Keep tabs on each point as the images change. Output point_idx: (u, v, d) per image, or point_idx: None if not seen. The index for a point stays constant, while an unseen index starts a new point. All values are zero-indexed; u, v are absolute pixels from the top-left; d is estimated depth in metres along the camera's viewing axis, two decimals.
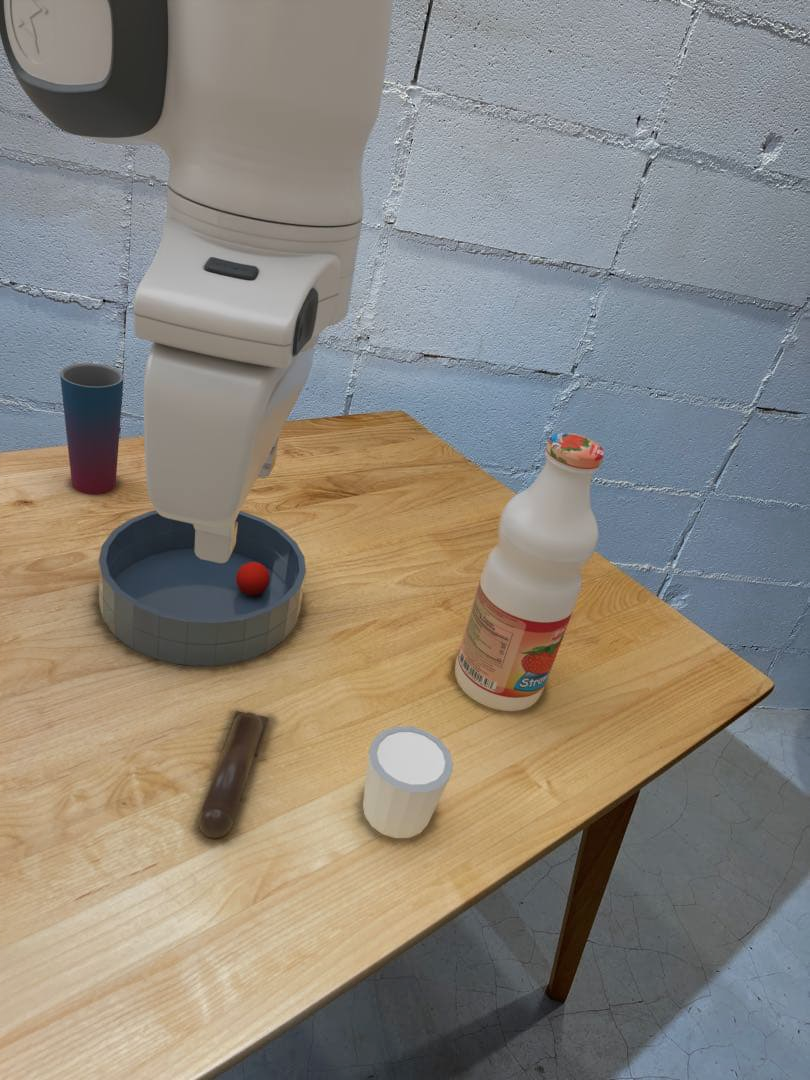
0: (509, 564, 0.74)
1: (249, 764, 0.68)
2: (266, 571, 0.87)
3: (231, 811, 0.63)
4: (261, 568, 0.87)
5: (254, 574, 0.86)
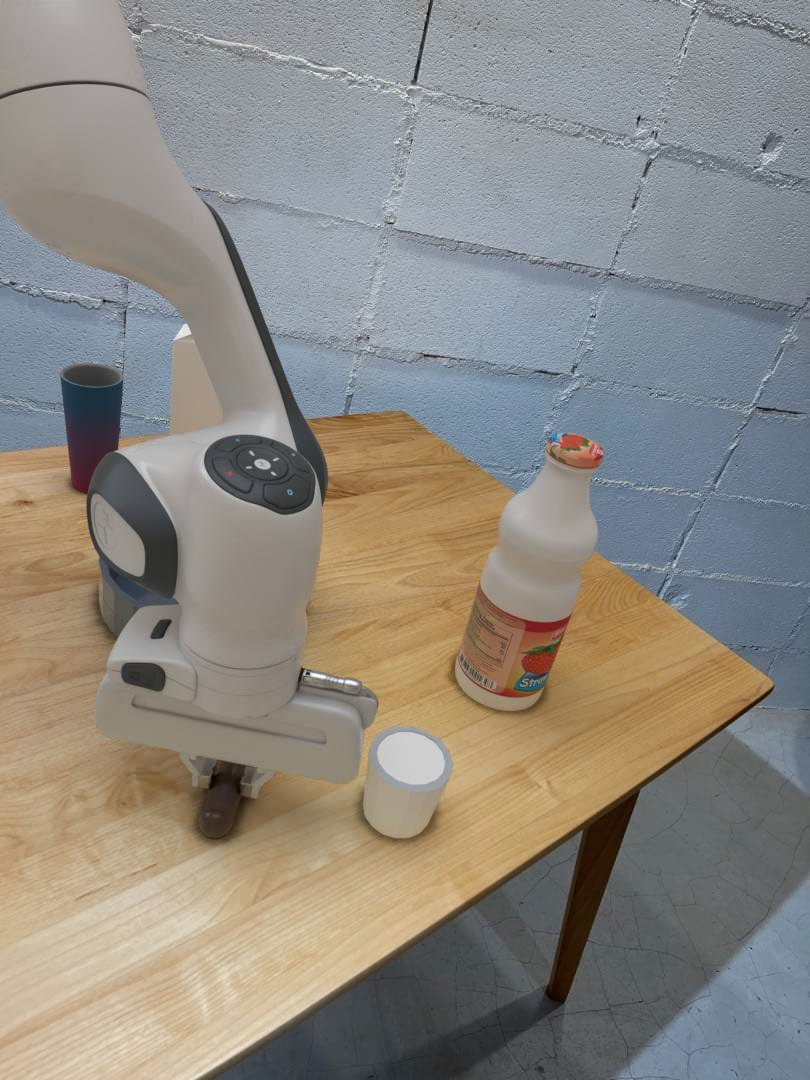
0: (509, 564, 0.74)
1: None
2: None
3: (231, 811, 0.63)
4: None
5: None
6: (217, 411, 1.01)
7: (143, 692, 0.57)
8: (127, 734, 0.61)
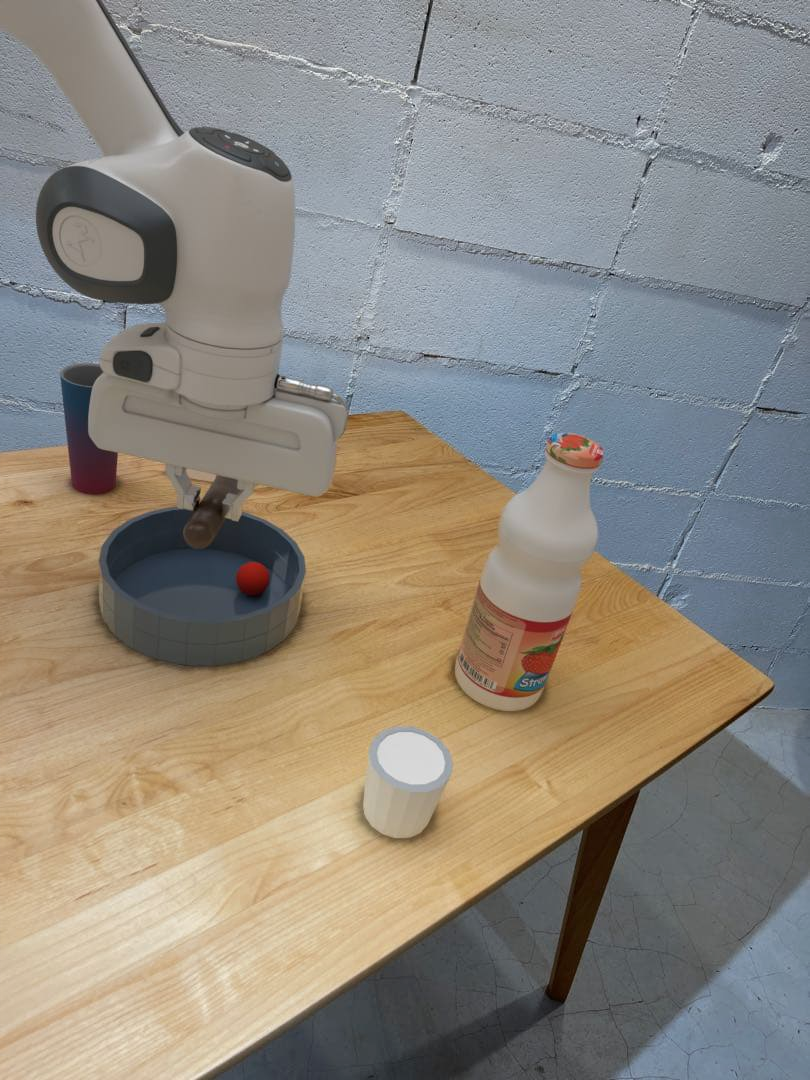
0: (509, 564, 0.74)
1: None
2: (266, 571, 0.87)
3: (213, 525, 0.69)
4: (261, 568, 0.87)
5: (254, 574, 0.86)
6: None
7: (132, 387, 0.63)
8: (118, 443, 0.66)
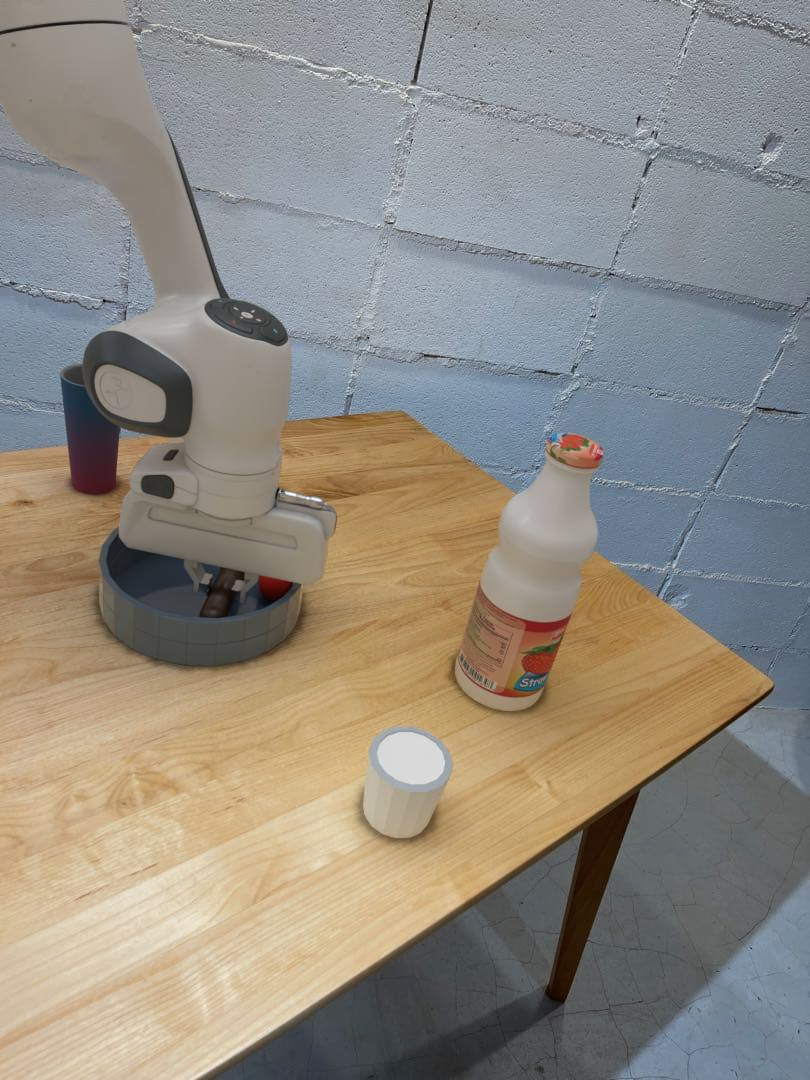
0: (509, 564, 0.74)
1: None
2: None
3: (224, 609, 0.81)
4: None
5: None
6: None
7: (157, 502, 0.75)
8: (144, 543, 0.79)
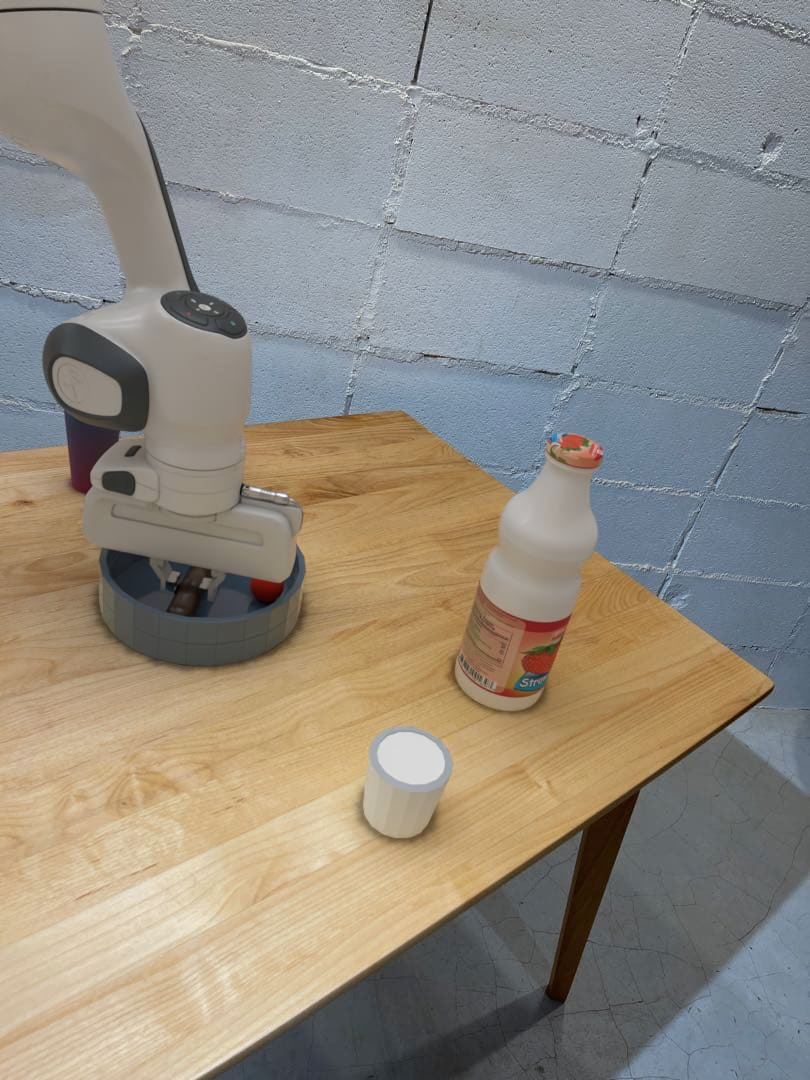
0: (509, 564, 0.74)
1: None
2: None
3: (191, 607, 0.80)
4: (283, 586, 0.87)
5: (278, 591, 0.86)
6: None
7: (119, 499, 0.74)
8: (108, 541, 0.78)
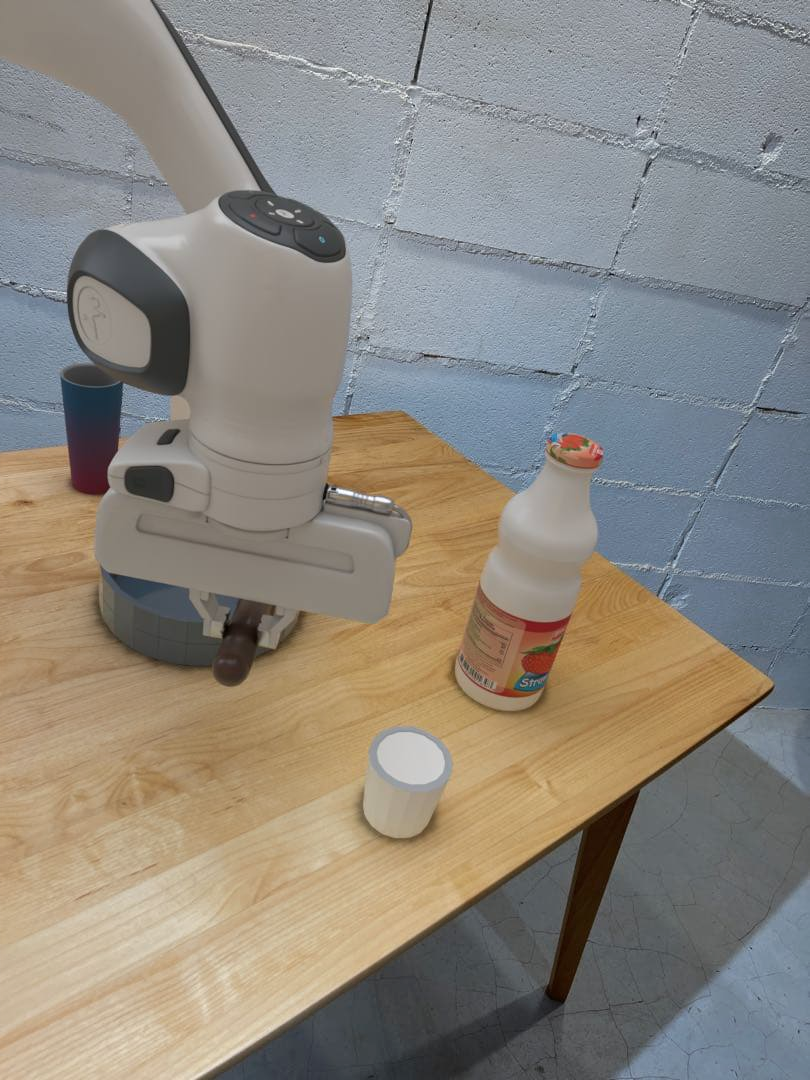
0: (509, 564, 0.74)
1: None
2: None
3: (248, 658, 0.57)
4: None
5: None
6: None
7: (149, 507, 0.51)
8: (131, 566, 0.54)
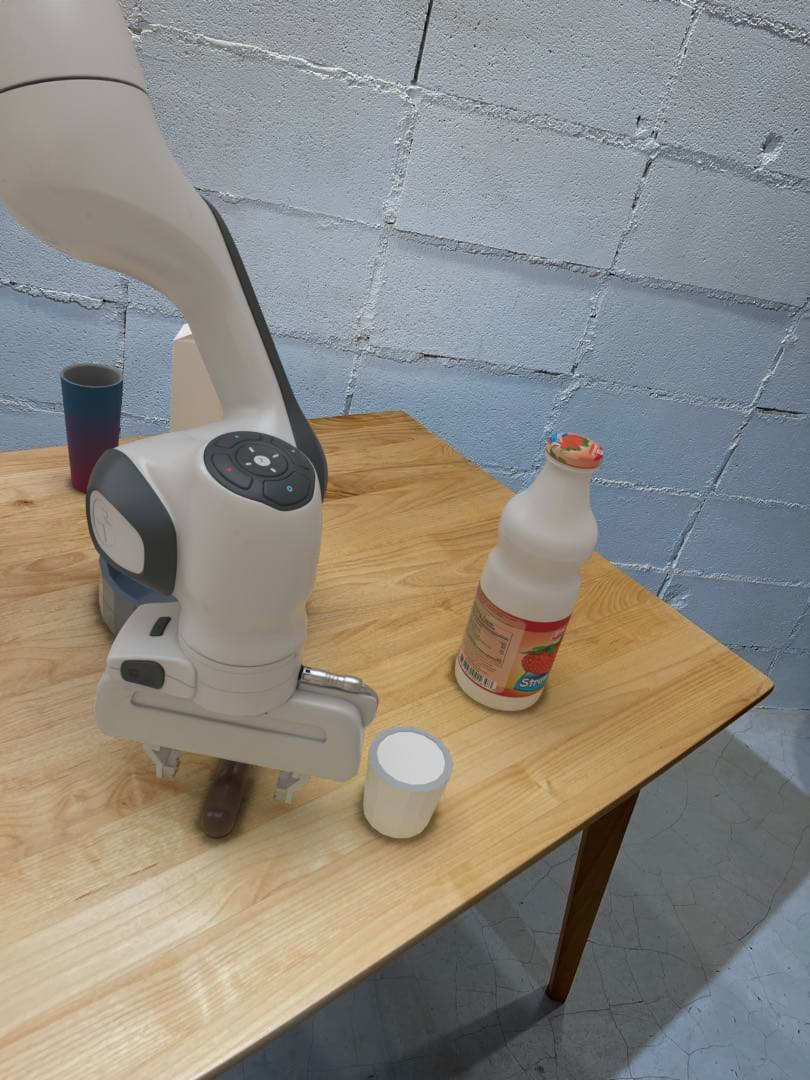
0: (509, 564, 0.74)
1: None
2: None
3: (233, 810, 0.63)
4: None
5: None
6: (217, 411, 1.01)
7: (142, 690, 0.57)
8: (126, 732, 0.61)
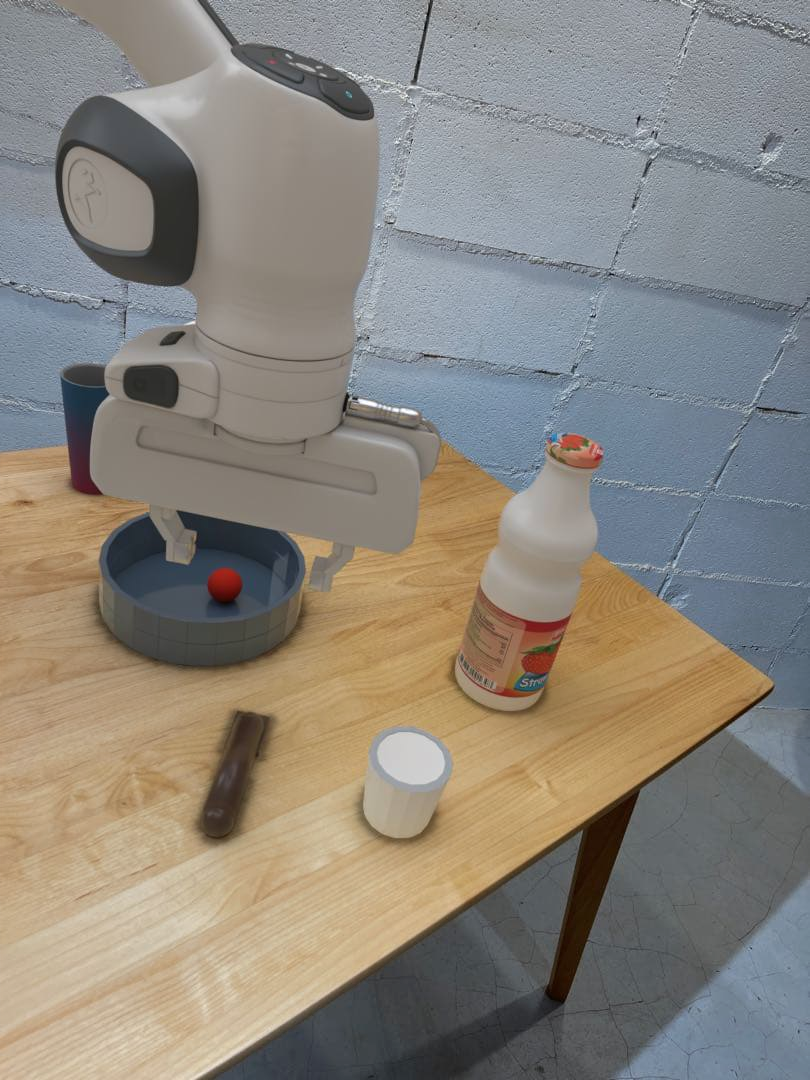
0: (509, 564, 0.74)
1: (250, 763, 0.68)
2: (213, 574, 0.85)
3: (233, 810, 0.63)
4: (211, 580, 0.85)
5: (216, 587, 0.84)
6: None
7: (150, 415, 0.46)
8: (130, 488, 0.49)
